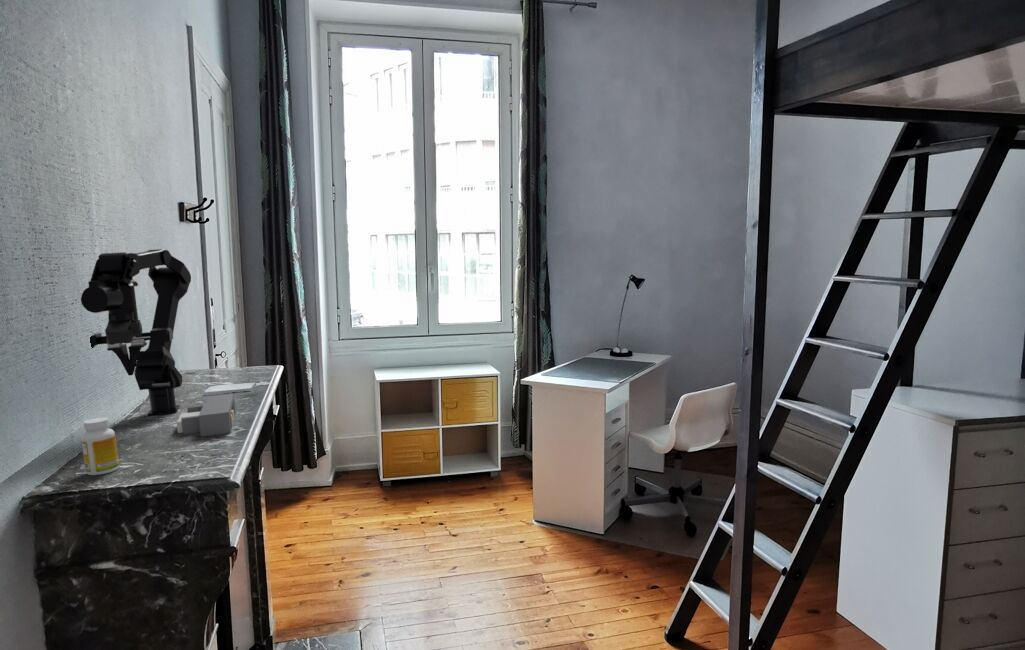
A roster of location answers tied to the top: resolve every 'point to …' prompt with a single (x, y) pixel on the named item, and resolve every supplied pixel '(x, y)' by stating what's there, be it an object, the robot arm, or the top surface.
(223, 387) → the hard drive
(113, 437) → the supplement bottle
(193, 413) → the white flat block
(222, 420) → the dock
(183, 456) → the top surface
